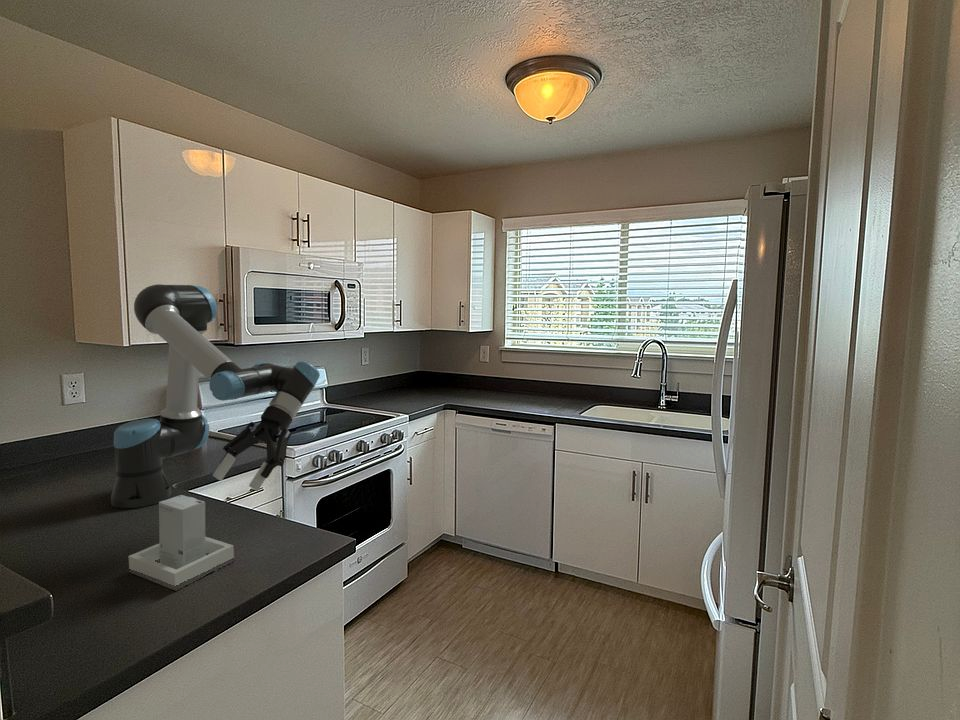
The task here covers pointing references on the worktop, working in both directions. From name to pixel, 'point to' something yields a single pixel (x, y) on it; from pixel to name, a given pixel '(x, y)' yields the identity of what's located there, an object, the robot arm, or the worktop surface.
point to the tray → (216, 556)
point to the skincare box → (181, 531)
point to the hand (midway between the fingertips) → (234, 483)
